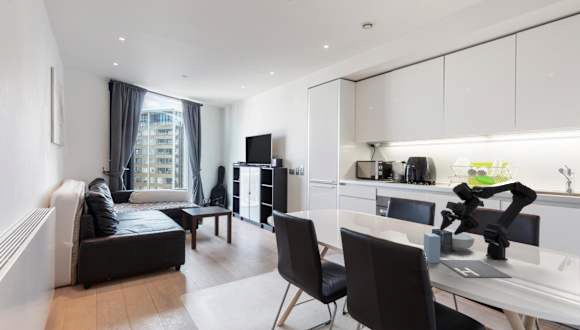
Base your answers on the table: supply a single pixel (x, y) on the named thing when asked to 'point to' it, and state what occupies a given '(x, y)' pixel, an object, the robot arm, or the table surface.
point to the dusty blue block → (432, 248)
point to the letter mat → (474, 269)
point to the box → (444, 240)
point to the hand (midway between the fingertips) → (447, 232)
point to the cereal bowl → (462, 241)
